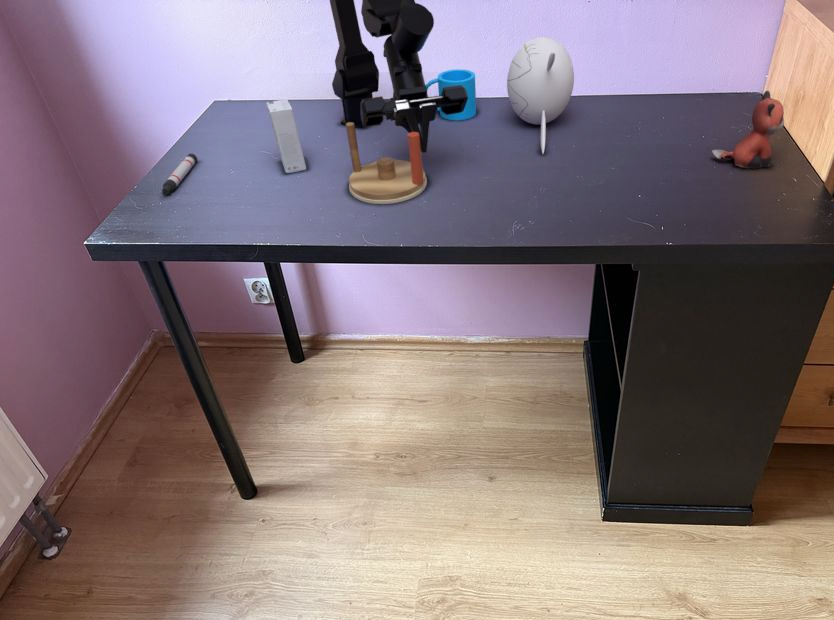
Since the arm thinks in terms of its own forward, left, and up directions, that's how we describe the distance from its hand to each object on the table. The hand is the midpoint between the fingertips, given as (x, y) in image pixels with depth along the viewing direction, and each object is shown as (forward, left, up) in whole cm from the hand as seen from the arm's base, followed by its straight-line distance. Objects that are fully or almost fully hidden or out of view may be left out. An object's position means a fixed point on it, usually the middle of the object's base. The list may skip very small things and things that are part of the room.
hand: (424, 152), depth 116 cm
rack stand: (-8, -2, -7) cm, 11 cm away
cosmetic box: (-30, -3, -7) cm, 30 cm away
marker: (-46, -17, -7) cm, 50 cm away
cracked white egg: (+7, +33, -7) cm, 35 cm away
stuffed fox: (+48, +34, -7) cm, 60 cm away
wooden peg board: (-8, -2, -6) cm, 10 cm away
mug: (-15, +33, -7) cm, 37 cm away
